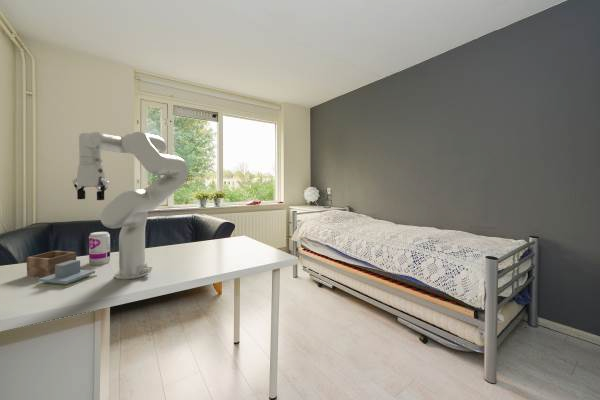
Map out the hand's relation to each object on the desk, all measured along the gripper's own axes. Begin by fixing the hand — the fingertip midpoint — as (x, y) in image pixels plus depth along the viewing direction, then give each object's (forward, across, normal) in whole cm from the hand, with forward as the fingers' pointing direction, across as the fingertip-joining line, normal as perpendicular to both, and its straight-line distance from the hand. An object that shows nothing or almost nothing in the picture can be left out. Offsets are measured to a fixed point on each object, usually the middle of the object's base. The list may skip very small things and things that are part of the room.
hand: (91, 199), depth 115 cm
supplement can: (+32, +5, -9) cm, 34 cm away
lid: (+32, -3, +13) cm, 35 cm away
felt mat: (+32, -2, +13) cm, 35 cm away
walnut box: (+32, +12, +7) cm, 35 cm away
